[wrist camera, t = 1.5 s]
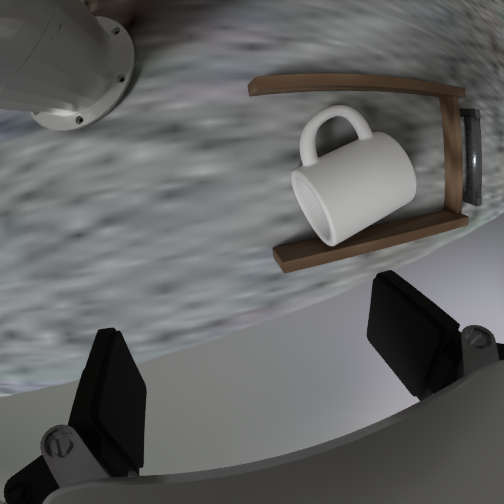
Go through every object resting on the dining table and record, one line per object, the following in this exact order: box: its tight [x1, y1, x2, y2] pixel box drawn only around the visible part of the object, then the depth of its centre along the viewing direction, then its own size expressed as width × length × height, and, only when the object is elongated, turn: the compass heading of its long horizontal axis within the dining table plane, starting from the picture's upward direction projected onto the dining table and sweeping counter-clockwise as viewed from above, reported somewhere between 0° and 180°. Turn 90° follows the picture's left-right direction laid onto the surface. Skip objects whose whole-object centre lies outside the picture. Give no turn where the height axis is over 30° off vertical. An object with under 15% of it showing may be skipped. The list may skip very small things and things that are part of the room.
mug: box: [291, 105, 416, 246], centre depth 26 cm, size 12×10×8 cm
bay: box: [248, 73, 482, 273], centre depth 29 cm, size 18×30×4 cm, turn 99°
